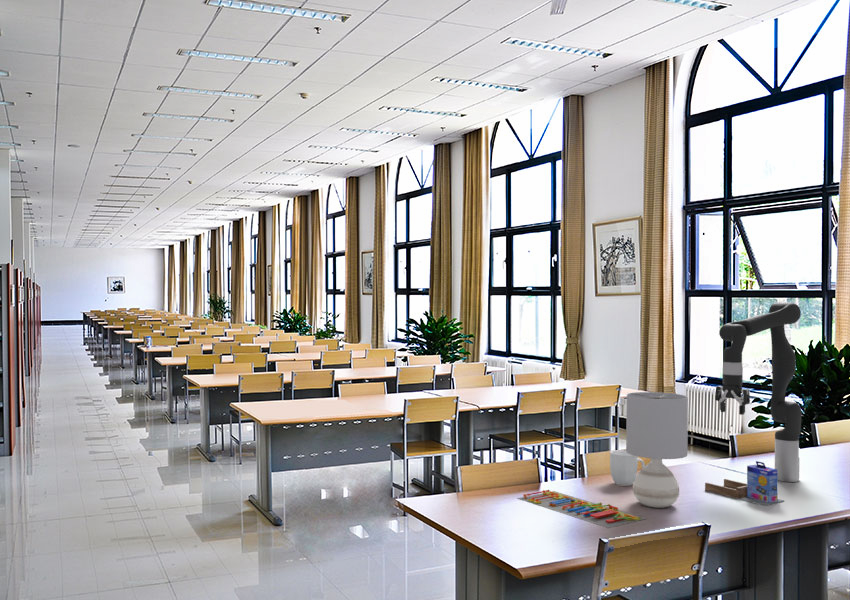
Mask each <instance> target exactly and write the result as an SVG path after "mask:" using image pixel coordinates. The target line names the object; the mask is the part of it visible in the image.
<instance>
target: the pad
mask: <svg viewBox="0 0 850 600" xmlns="http://www.w3.org/2000/svg"><path fill="white" fill-rule="evenodd" d="M740 500H741V501H744V502H748V503H749V502H750V503H753V504H756V505H760V506H765V507H766V506H771V505H775V504H779V503H784V502H785V500H784V499H780V498H778V501H777V502H771V503H767V502H763V501H760V500H756V499H752V498H749V497H744V498H740Z"/></svg>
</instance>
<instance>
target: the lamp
mask: <svg viewBox="0 0 850 600" xmlns="http://www.w3.org/2000/svg"><path fill="white" fill-rule="evenodd" d="M688 413H689V396H687V395H683V394H679V393H670V392H657V391H655V392H653V391H639V392H638V391H637V392H629V393H626V428H625V429H626V431H625V432H626V436H625V437H626V439H625V445H626V446H625V448H626V449H625V450H626V452H627V453H628V454H631V455H634V456H638V458H645V459H650V461H649V463H647V464H646V465H645V467H643V468H642V467H641V469H640V470H639V471H637V474H636V478H635V480H634V482H633V484H632V491H633V492H632V493H633V495H634V496H635V499H636V500H637V501H638V502H639V503H640V504H641V505H644V506H646V507H650V508H654V509H655V508H656V509H663V508H668V507H671V506H672V505H674V504H675V503H676V502H677V500H678V498H679V496H680V486H679V482H678V479H677V477H676V476H675V474H674V473H673V472H672V470H670V468H668V466H666V465H665V464H664V463H663V460H677V459H679V460H680V459H683V458H686V457H688V443H689V442H688V438H689V436H688V429H689V428H688V427H689V426H688V423H689V422H688V421H689V420H688V419H689V418H688V417H689V414H688Z"/></svg>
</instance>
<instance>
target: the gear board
mask: <svg viewBox="0 0 850 600" xmlns="http://www.w3.org/2000/svg"><path fill="white" fill-rule="evenodd" d="M516 499H517V500H520V501H524V502H527V503H530V504H533V505H536V506H539V507H543V508H545V509H547V510H551V511H555V512H558V513H560V514H564V515H567V516H570V517H574V518H576V519H579V520H583V521H585V522H588V523H591V524H594V525H597V526H600V527H603V528H607V529H611V528H614V527H620V526H623V525H628V524H633V523H636V522H639V521H640V522H641V521H644V520H647V518H646V517H643V516H640V515H639V516H638V515H636V514H632V513H629V512H625V511H622V510H619V507H617V506H614V505H612V504H610V503H608V504H603V502H597V503H595V502H591V501H589V500H586V499H585V500H584V499H582V498H579V497H575V496H571V495H568V494H565V493H562V492H559V491H555V490H552V491H551V490H550V489H547V490H544V489H543V490H542V491H541V490H540V491H535V492H531V493H527V494H526V493H523V494H522V497H517V498H516Z"/></svg>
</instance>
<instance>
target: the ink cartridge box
mask: <svg viewBox="0 0 850 600" xmlns="http://www.w3.org/2000/svg"><path fill="white" fill-rule="evenodd" d="M746 478H747V480H746V484H747V497H749V498H752V499H756V500H760V501H763V502H767V503H771V502H777V501H778V499H779V498H778V493H779V492H778V480H777V469H775V468H773V467H767V466H766V464H765V462H762V461H758V460H755V464H752V465H751V464H750V465H747V466H746ZM747 497H746V498H747Z"/></svg>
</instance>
